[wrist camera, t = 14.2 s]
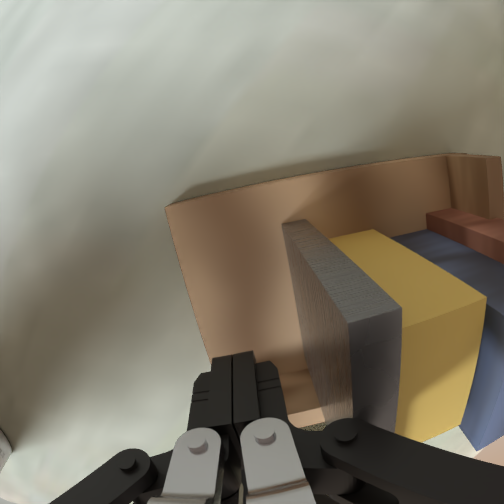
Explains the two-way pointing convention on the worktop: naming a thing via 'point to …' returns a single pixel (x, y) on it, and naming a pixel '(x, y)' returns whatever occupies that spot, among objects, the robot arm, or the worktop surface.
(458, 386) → the book
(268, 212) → the shelf
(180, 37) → the worktop surface
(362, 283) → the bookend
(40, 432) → the worktop surface
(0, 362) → the worktop surface
